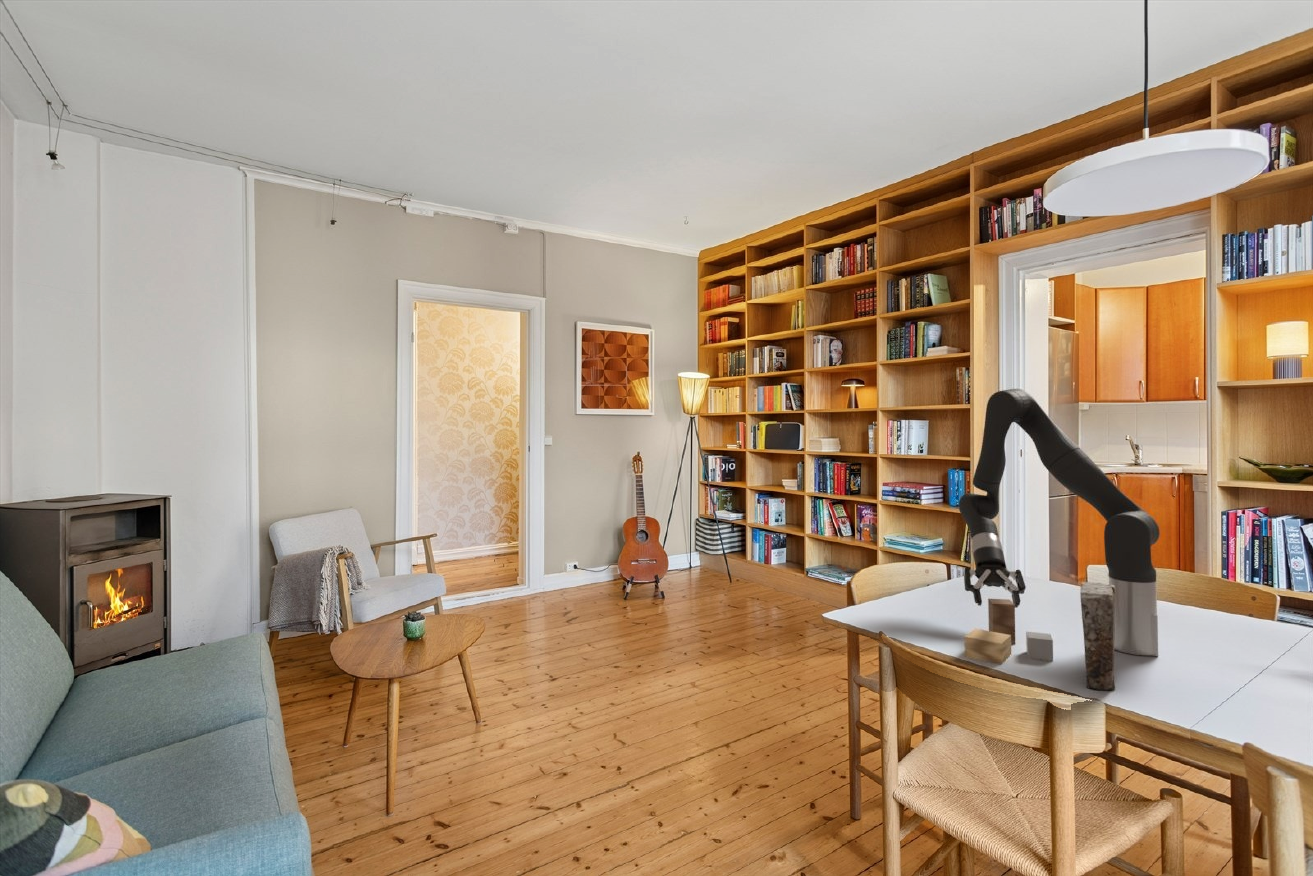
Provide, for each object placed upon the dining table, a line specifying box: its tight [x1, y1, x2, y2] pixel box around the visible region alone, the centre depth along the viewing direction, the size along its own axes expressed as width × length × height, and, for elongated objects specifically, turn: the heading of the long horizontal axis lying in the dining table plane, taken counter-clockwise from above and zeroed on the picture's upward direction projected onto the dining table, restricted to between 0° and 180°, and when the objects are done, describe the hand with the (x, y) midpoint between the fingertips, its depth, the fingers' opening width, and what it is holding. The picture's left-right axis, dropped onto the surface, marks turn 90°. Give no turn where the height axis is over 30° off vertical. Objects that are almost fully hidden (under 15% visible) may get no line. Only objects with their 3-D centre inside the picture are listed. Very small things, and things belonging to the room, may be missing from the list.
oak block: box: [964, 628, 1012, 665], centre depth 151 cm, size 8×8×5 cm
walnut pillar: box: [987, 598, 1016, 645], centre depth 162 cm, size 5×5×10 cm
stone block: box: [1079, 581, 1116, 691], centre depth 135 cm, size 13×7×20 cm, turn 149°
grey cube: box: [1025, 631, 1054, 662], centre depth 150 cm, size 5×5×5 cm
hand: (998, 605), depth 165 cm, fingers open, 8 cm apart
